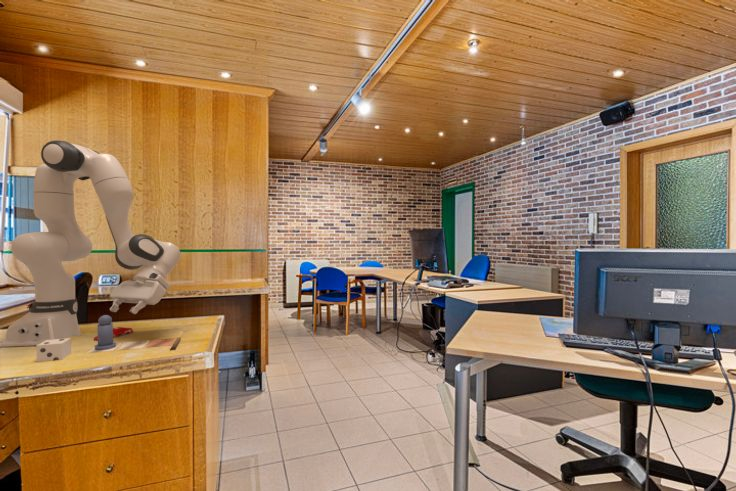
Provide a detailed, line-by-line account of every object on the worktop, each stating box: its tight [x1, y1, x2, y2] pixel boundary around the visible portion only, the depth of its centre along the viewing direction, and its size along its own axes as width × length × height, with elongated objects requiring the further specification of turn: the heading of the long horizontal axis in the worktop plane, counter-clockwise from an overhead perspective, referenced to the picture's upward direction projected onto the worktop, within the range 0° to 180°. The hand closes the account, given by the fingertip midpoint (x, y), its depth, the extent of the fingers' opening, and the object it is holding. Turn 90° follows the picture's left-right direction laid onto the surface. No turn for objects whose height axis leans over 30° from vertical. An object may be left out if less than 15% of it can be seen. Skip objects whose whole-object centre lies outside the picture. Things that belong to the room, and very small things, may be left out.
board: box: [86, 336, 181, 354], centre depth 118 cm, size 26×12×1 cm, turn 110°
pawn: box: [94, 314, 117, 350], centre depth 116 cm, size 6×6×11 cm
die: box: [35, 337, 72, 363], centre depth 106 cm, size 6×6×6 cm
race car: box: [93, 326, 134, 342], centre depth 130 cm, size 13×5×4 cm, turn 162°
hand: (122, 312), depth 121 cm, fingers open, 8 cm apart
